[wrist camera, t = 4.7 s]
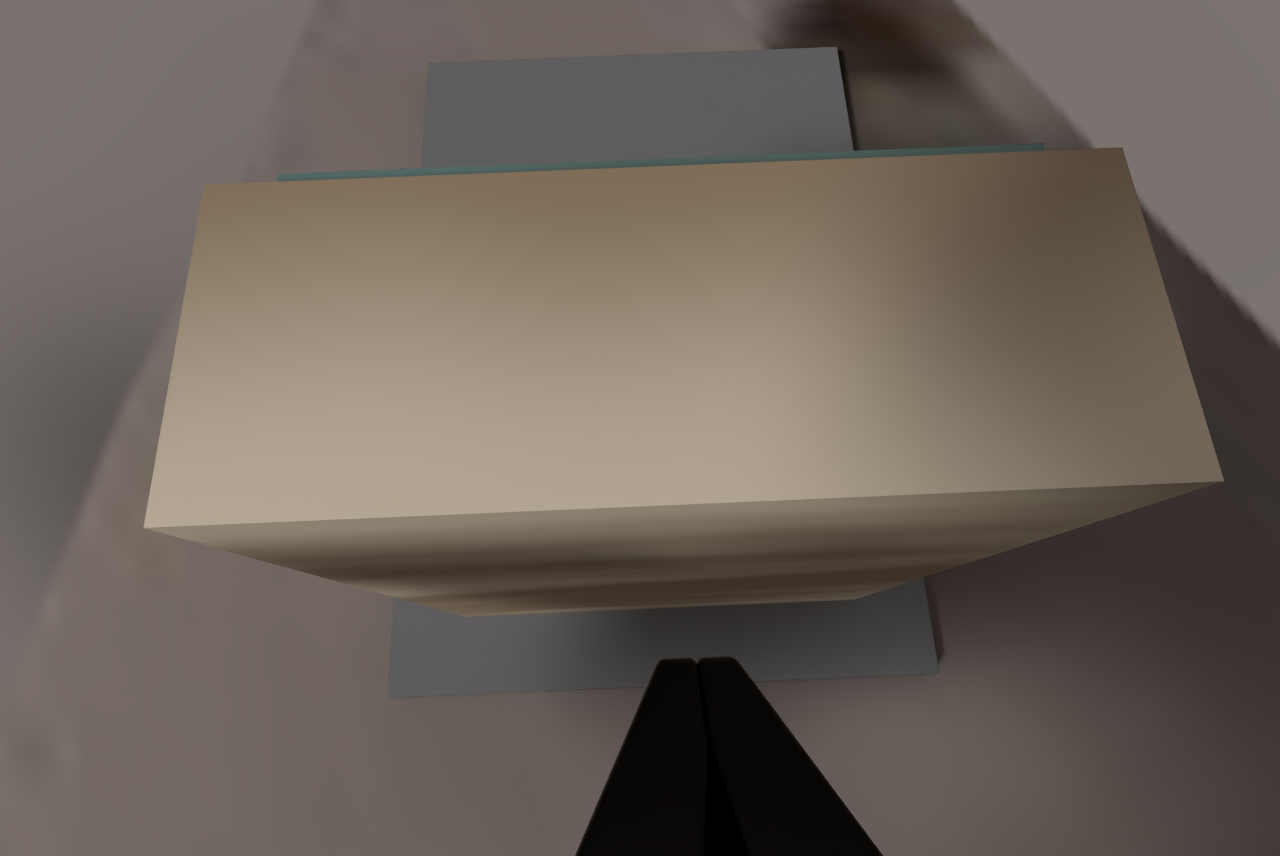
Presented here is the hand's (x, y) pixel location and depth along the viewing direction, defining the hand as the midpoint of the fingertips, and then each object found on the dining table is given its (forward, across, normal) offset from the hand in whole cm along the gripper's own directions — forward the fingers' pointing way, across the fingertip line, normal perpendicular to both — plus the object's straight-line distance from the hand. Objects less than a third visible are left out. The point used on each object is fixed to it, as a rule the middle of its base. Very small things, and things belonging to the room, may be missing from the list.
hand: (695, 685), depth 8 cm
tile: (+7, 0, +3) cm, 7 cm away
